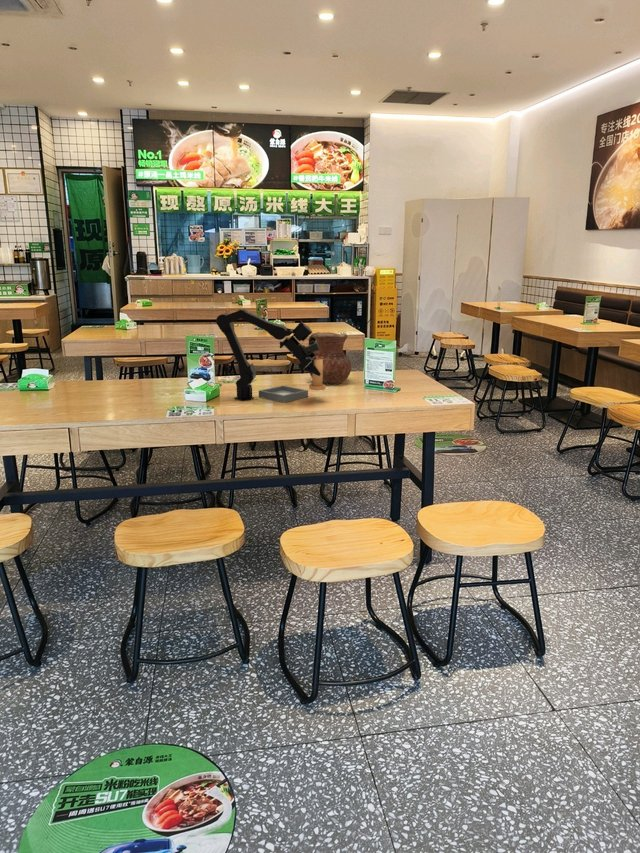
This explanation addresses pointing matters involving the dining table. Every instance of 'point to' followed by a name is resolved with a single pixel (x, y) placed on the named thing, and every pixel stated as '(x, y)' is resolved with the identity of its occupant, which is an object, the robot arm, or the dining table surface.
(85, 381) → the dining table surface
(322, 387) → the peach joystick knob
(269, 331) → the robot arm
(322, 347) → the jug
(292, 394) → the grey square tray
